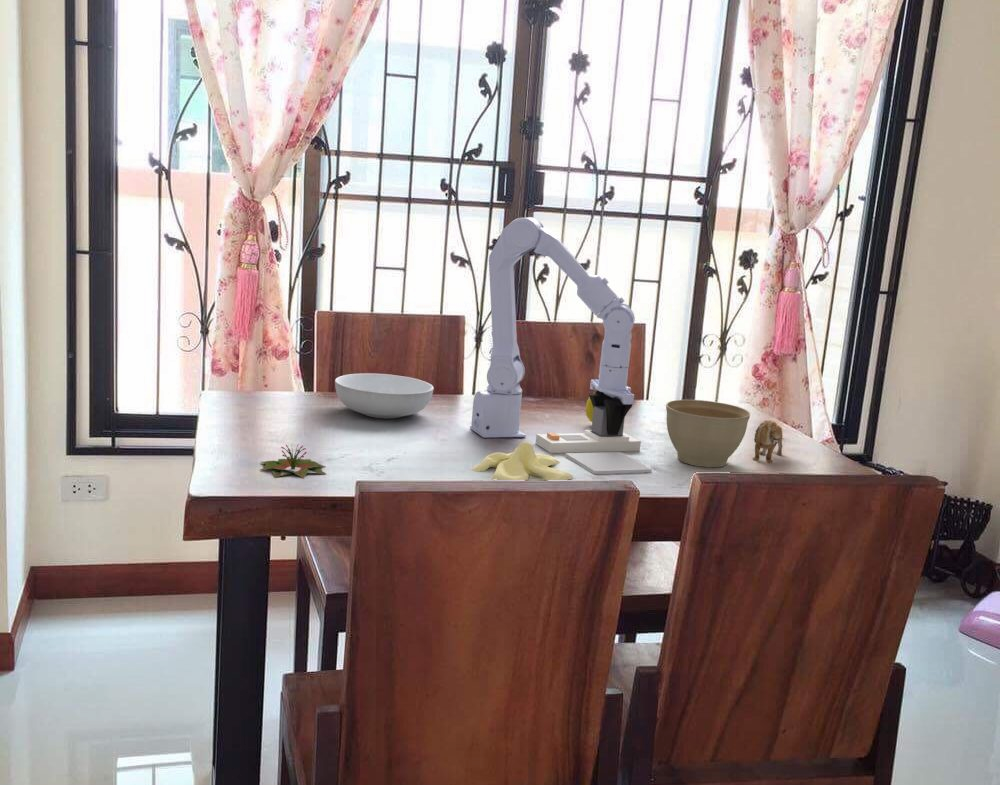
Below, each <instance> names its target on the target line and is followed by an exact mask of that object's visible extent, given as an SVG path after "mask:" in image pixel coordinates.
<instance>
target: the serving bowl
mask: <svg viewBox="0 0 1000 785" xmlns="http://www.w3.org/2000/svg"><path fill="white" fill-rule="evenodd" d="M334 386H335V392H336V395H337V397H338V399H339V400H340V402H341V403H342V404H343V405H344V406H345V407H347V408H348V409H350V410H352V411H354V412H356V413H360V414H362V415H365V416H367V417H370V418H374V419H375V418H376V419H398V418H403V417H407V416H411V415H414V414H417V413H419V412H421V411H423V409H425V408H426V407H427V406H428V405H429V404H430V401H431V399H432V397H433V394H434V390H435V389H434V386H433V384H431V383H429V382H427V381H424V380H421V379H419V378H414V377H410V376H402V375H395V374H388V373H371V372H370V373H364V372H363V373H350V374H344V375H341V376H338V377H336V378H335V379H334Z"/></svg>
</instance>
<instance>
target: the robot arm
mask: <svg viewBox="0 0 1000 785" xmlns="http://www.w3.org/2000/svg"><path fill="white" fill-rule="evenodd" d="M532 250H534V251H533V253H535V254H538V255H541V256H545V257H548V258H550V259H551V260H552V261H553V262H554V264H556V265H557V267H558V268H560V269H561V270H562V272H564V274H565V275H567V276H568V277H569V279H570V280H571V281H572V282H573V283H574V284H575V285H576V288H577V289H576V295H577V296H578V298H579V299H580V300H581V301H582V302H583V303H584V304H585V306H586V307H587V308H588V309H589V310H590V311H591V312H592V313H593V314H594V315H595V317H596V318H597V319H601V320H602V326H603V328H604V336H603V340H602V343H601V353H600V362H599V371H598V379H590V383H589V384H590V385H589V389H590V390H595V392H593V393H592V392H591V393H589V395H588V398H589V397H590V399H591V402H592V405H593V408H594V406H605V407H606V413H607V434H608V435H618V433H619V430H620V427H621V425H622V422H623V420H624V421H625V419H626V416H627V414H628V412H629V411H630V410H631V408H632V407H633V405H634V401H635V394H634V393H632V392H631V391H632V388H631V387H630V386H628V385H627V384H628V378H629V377H628V376H629V367H630V359H631V350H632V343H631V341H632V338H633V335H632V330H633V328H634V324H635V321H636V320H635V318H636V317H635V313H634V311H633V310H632V308H631V306H630V305H629V304H626V303H624V302H625V299H624V298H623V297H622V296H621V297H619V296H618V295H617V294H616V292H614V290H612V289H611V288H610V286H609V285H608V284H609V283H610V282H609V281H608V279H607V278H606V277H603V278H602V277H601V276H600V275H598V274H589V273H588V272H587V271H586V270H587V269H585V268H584V267H583V266H582V264H580V262H579V261H578V259H577V258H576V257H575V256H574V255H573V254H572V253H571V251H570V250H569V249H568V248H567V247H566V246H565V244H564V243H563V242H562V241H561V240H560V239H559V237H558V236H556V234H554V233H553V232H552V231H551V230H550V229H549V228H548V227H545V226H544V224H543V223H542V222H541V221H540V220H539V219H538V218H535V217H532V216H527V217H518V218H515V219H514V220H512V221H511V222H510V223H509V224H507V225H506V226H505V227H504V228H503V229H502V230H501V233H500V236H499V237H498V239H497V241H496V243H495V244H494V247H493V248H492V250H491V252H490V253H489V256H488V272H489V291H490V294H489V295H490V311H491V315H490V316H491V335H492V348H491V353H490V364H489V368H488V370H487V373H486V381H487V383H488V385H487V386H486V387H487V388H486V389H485V390H479V391H477V392H475V394H474V397H473V402H472V415H471V425H470V426H469V428H470V430H472V431H474V433H476V434H478V435H479V436H480V437H482V438H487V439H489V438H526V436H527V434H525V433H524V432H522V431H521V430H520V420H521V419H520V418H521V408H522V396H523V389H522V388H521V385H520V382H522V380H523V379H524V377H525V374H526V369H525V365H524V363H523V361H522V359H521V355H520V348H519V345H518V334H517V318H516V317H517V315H516V314H517V312H516V311H517V310H516V292H515V291H516V289H515V271H514V270H515V269H514V266H515V264H517V263H518V261H520V260H521V258H522V257H523V256H524V255H525V254H527V253H528V252H530V251H532ZM624 418H625V419H624Z"/></svg>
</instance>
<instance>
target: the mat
mask: <svg viewBox="0 0 1000 785" xmlns="http://www.w3.org/2000/svg"><path fill="white" fill-rule="evenodd" d="M565 458H567V459H569V460H571V461H573V462H574V463H576V464H578V465H579V466H580V467H582V468H584V469H585V470H587V471H589V472H590V473H591V474H593V475H611V474H615V475H616V474H617V475H618V473H619V474H641V473H644V472H648V473H652V472H653V471H652V470H653V469H652V468H650V467H649V466H646V465H645V464H644V463H641V462H639V461H638V460H636V459H634V458H632V457H631V456H628V455H626V454H625V453H623V452H622V451H615V452H574V453H565Z"/></svg>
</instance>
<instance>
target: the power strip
mask: <svg viewBox="0 0 1000 785" xmlns="http://www.w3.org/2000/svg"><path fill="white" fill-rule="evenodd" d="M641 443H642V441H641V440H639V439H637V438H635V437H634V436H631V435H629V434H627V433H626V432H623V436H614V437H599V436H597V435H596V434H594V433H592V432H591V429H584V432H583V433H581V432H580V433H579V432H578V433H577V432H576V433H575V432H574V433H573V432H572V433H571V432H570V433H556V432H547V433H536V434H535V444H536V446H538V447H540V448H542V449H543V450H545V451H546V452H548V453H550V454H562V453H565V454H566V453H600V452H640V451H641Z"/></svg>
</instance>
